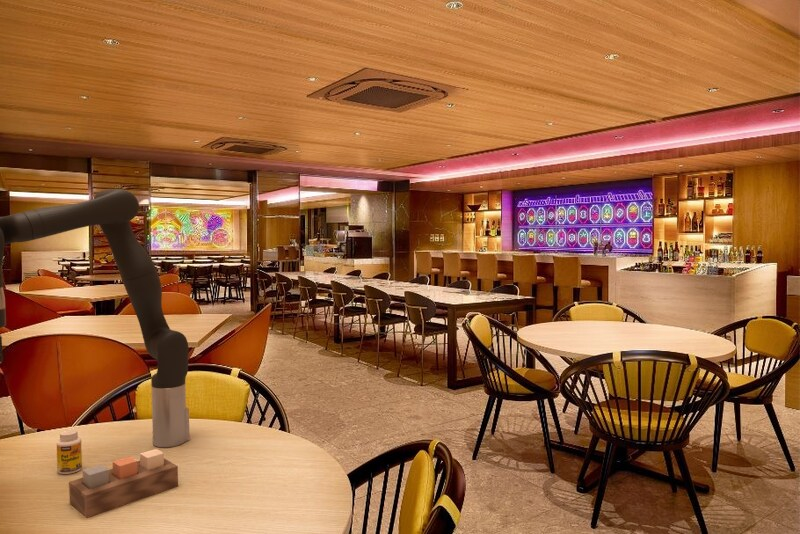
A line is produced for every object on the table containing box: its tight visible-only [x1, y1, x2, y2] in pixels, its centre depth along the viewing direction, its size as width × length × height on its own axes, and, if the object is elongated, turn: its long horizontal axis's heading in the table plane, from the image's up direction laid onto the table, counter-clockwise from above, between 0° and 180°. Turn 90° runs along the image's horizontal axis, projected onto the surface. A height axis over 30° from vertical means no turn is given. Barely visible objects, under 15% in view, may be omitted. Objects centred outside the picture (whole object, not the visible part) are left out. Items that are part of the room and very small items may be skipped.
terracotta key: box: [112, 456, 138, 480], centre depth 137 cm, size 4×4×4 cm
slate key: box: [82, 464, 109, 489], centre depth 133 cm, size 4×4×4 cm
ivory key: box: [139, 448, 165, 471], centre depth 142 cm, size 4×4×4 cm
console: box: [68, 458, 179, 518], centre depth 138 cm, size 21×10×5 cm, turn 138°
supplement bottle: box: [56, 429, 83, 475], centre depth 150 cm, size 6×6×10 cm
